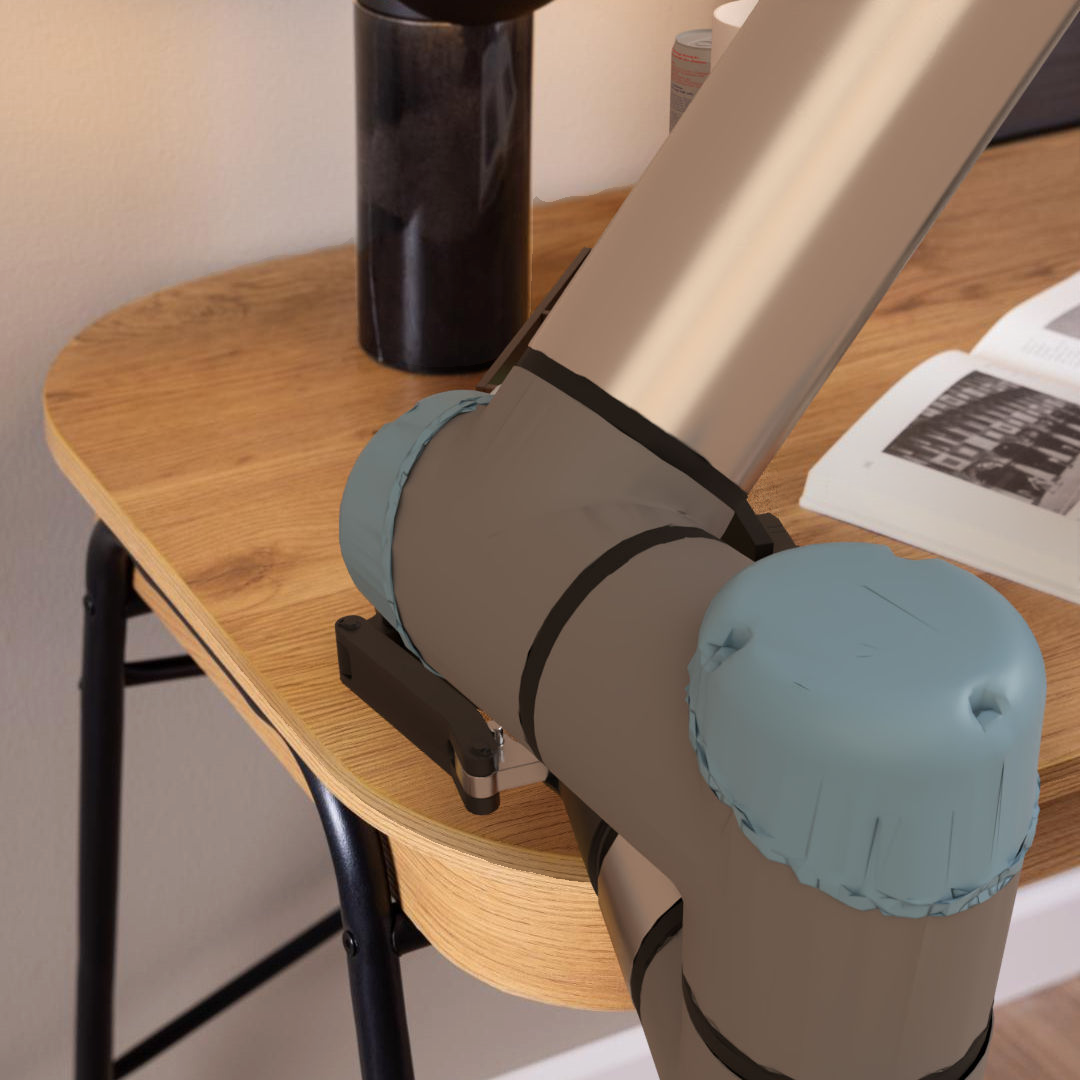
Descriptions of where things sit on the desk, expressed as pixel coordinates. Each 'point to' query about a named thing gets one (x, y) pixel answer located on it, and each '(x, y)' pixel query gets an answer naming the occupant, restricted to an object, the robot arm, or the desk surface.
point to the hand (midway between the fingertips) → (557, 510)
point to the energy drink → (688, 69)
